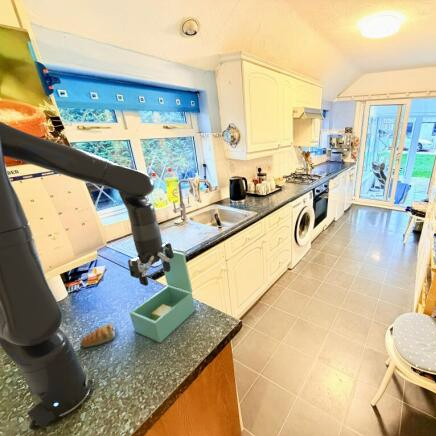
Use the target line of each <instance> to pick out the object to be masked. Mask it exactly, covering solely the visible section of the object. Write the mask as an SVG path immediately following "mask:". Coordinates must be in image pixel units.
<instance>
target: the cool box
mask: <svg viewBox="0 0 436 436" xmlns="http://www.w3.org/2000/svg"><path fill="white" fill-rule="evenodd" d="M162 304H164V305H167V306H170V307H172V308H171V309H170V310H169V311H167V312H166V313H165V314H164V315H162V316H161V317H160V318H159V319H157V320H156V321H154V320H153V317H152V312H153V311H155V310H156V309H157V308H158V307H160V306H161V305H162ZM195 311H196V308H195V303H194V297H193V292H191V293H190V292H187V291H184V290H181V289H178V288H175V287H172V286H169V285H167V286H165V287H164V288H162V289H161V290H160V291H158V292H157V293H155V294H154V295H152V296H151V297H149V298H148V299H147V300H145V301H144V302H142V303H141V304H139V305H138V306H137V307H135V308H134V309H132V310H130V312H129V316H130V320H131V322H132V326H133V329H134V332H136V333H138V334H140V335H142V336H144V337H147V338H148V339H151V340H153V341H155V342H158V343H161V342H163V341H164V340H165V339H166V338H167V337H168V336H169V335H170V334H172V333H173V332H174V331H175V330H176V329H177V328H178V327H179V326H180V325H181V324H182V323H184V322H185V321H186V320H187V319H188V318H189V317H190V316H191V315H192V314H193V313H195Z"/></svg>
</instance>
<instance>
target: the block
mask: <svg viewBox="0 0 436 436" xmlns="http://www.w3.org/2000/svg"><path fill="white" fill-rule="evenodd" d="M171 308H172V307H170V306H167V305H164V304H162V305H161V306H160V307H158V308H157V309H156V310H155V311H153V312H152V317H153V320H154V321H156V320H157V319H159V318H160V317H161V316H162V315H164V314H165V313H166V312H167V311H169V310H170V309H171Z"/></svg>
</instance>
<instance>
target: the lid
mask: <svg viewBox="0 0 436 436" xmlns="http://www.w3.org/2000/svg"><path fill="white" fill-rule="evenodd" d="M172 251H173V255H174V257H173V258H171V259H170V261H169V262H170V271H169V272H166V271H164V268H163V263H162V262H163V261H162V260H161V259H160V261H161V265H162V269H163V273H164V277H165V281H166V285H167V286H168V285H169V286H172V287H175V288H178V289H181V290H184V291H187V292H190V293H193V286H192V283H191V279H190V273H189V269H188V268H189V267H188V264H187V263H188V262H187V259H186V256H187V254H188V251H186V250H183V249H180V248H172ZM162 254H163V255H165V256H166V254H165V250H163V253H162Z"/></svg>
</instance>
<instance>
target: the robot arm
mask: <svg viewBox="0 0 436 436" xmlns="http://www.w3.org/2000/svg"><path fill="white" fill-rule="evenodd" d="M5 158H7V159H10V160H14V161H19V162H23V163H26V164H29V165H33V166H36V167H39V168H41V169H45V170H47V171H50V172H54V173H57V174H60V175H63V176H66V177H68V178H72V179H74V180H78V181H80V182H84V183H85V182H86V183H89V184H92V185H96V186H99V187H105V188H110V189H113V190H116V191H117V192H118V195H119V196H120V198H121V201H122V203H123V204H124V206H125V209H126V211H127V216H128V219H129V223H130V230H131V235H132V240H133V243H134V247H135V248H134V249H135V251H136V253H137V257H135V258H133V259H132V258H130V259H128V260H127V264H128V269H129V275H130V277H132V278H135V279H138V281H139V284H140V285H142V286H145V287H147V286H148V285H149V280H148V275H146V274H147V272H148V271H149V270H150V268H151V266H152V265H154V264H155V263H158V262H160V261H161V260H162V261H163V262H161V264H162V263H163V266H162V269H163V268H164V270H163V272H164V271H166V272H169V271H170V262H169V261H170V259H171V258H173V257H174V255H173V247H172V244H171V243H170V242H166V241H164V242H163V238H162V234H161V230H160V224H159V223H158V220H157V215H156V210H155V206H154V205H153V203H152V202H151V201H149V200H148V198H147V197H149V196H150V195H151V194H152V193H153V192H154V189H155V182H154V180H153V179H152V177H150V176H149V175H148V174H147V173H145V172H142V171H139V170H136V169H133V168H129V167H126V166H124V165H119V164H117V163H114V162H112V161H109V160H108V159H106V158H103V157H100V156H98V155H95V154H93V153H89V152H87V151H84V150H81V149H78V148H75V147H72V146H69V145H66V144H63V143H59V142H55V141H52V140H50V139H49V140H48V139H46V138H43V137H40V136H37V135H35V134H31V133H28V132H25V131H23V130H20V129H18V128H16V127H13V126H11V125H10V124H9V125H8V124H6V123H5V122H2V121H0V348H1V349H2V350H3V352H4V353H5V355H6V356H7V357H8V359H9V360H10V361H11V362H12V363H13V364H14V365H15V366H16V367H17V369H18V371H19V372H20V374H21V375H22V377H23V379H24V380H25V382H26V384H27V385H28V388H27V390H28V392H29V394H30V395H31V397H32V398H33V400H34V402H35V403H36V405H35V406H34V407H32V408H31V409H30V410H28V411H27V416H28V417H29V418H30V420H31V423H30V425H29V428H30V430H31V431H35V430H38V429H43V428H45V427H46V426H47V425H48V424H49V423H50V422H54V423H55V422H57V421H58V420H59V419H61V418H63V417H65V416H68V415H69V414H71V413H73V412H74V411H76V410H78V408H80V407H81V406H82V405H83V403H85V401H86V400H87V399H88V398H89V396H90V394H91V391H92V385H91V382H90V381H89V373H88V372H86V373H85V371H84V368H83V367H82V364H81V362H80V360H79V358H78V356H77V354H76V351H75V350H74V349H75V348H74V347H73V345H72V343H71V340H70V338H69V337H68V335H67V334H66V332H65V331H64V330H62V329H61V328H60V327H61V325H62V322H63V311H62V309H61V307H60V304H59V303H58V300H57V298H56V297H55V295H54V293H53V291H52V290H51V287H50V285H49V283H48V281H47V279H46V276H45V272H44V268H43V264H42V261H41V257H40V255H39V252H38V249H37V245H36V241H35V238H34V235H33V231H32V229H31V225H30V222H29V220H28V218H27V216H26V212H25V210H24V207H23V205H22V203H21V200H20V198H19V196H18V194H17V192H16V189H15V188H14V186H13V184H12V181H11V178H10V176H9V173H8V170H7V166H6V161H5ZM163 250H165V254H166V256H165V255H163V254H162V253H163Z"/></svg>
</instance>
